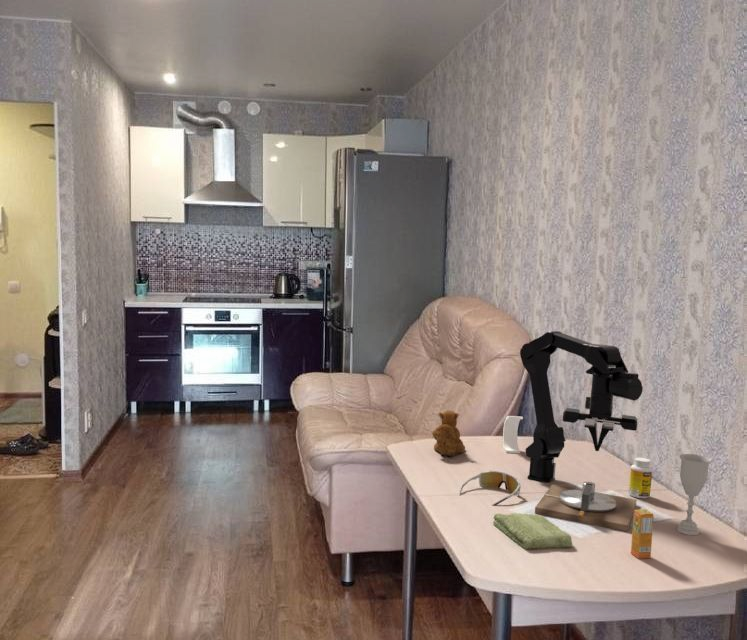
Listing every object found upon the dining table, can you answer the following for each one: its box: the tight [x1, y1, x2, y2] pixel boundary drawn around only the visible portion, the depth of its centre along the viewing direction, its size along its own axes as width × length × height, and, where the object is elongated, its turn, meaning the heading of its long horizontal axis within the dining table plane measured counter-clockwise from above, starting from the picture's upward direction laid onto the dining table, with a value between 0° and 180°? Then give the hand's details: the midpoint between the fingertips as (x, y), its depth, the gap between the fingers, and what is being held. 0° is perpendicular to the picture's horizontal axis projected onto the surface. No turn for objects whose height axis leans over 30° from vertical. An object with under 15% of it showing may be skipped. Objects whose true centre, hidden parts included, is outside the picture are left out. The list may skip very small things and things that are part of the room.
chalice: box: [676, 453, 712, 536], centre depth 179 cm, size 7×7×18 cm
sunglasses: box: [458, 469, 522, 507], centre depth 199 cm, size 14×15×5 cm
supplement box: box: [630, 508, 654, 560], centre depth 162 cm, size 3×3×10 cm
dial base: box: [534, 483, 637, 532], centre depth 192 cm, size 22×22×2 cm
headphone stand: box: [502, 415, 524, 454], centre depth 245 cm, size 5×6×12 cm
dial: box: [559, 481, 616, 512], centre depth 190 cm, size 17×14×5 cm
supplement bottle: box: [628, 457, 654, 500], centre depth 205 cm, size 6×6×10 cm
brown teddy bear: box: [431, 410, 466, 457], centre depth 237 cm, size 10×14×13 cm
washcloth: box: [492, 512, 573, 550], centre depth 172 cm, size 13×18×3 cm
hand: (596, 450), depth 200 cm, fingers closed
